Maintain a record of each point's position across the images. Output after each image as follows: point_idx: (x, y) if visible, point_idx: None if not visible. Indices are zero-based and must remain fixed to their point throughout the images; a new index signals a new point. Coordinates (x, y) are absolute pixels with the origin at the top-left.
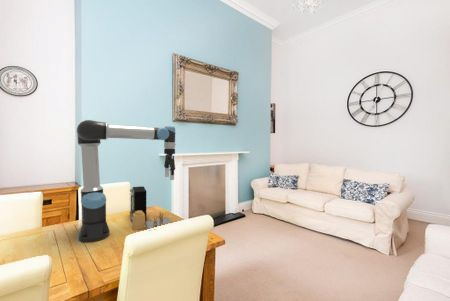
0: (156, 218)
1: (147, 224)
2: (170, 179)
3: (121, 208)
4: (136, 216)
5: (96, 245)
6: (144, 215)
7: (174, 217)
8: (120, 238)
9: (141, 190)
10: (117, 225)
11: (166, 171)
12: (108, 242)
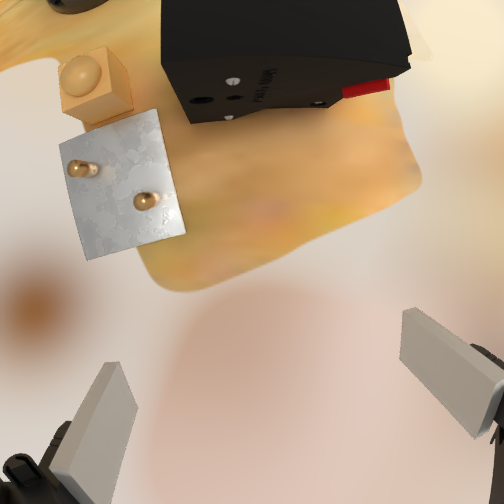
0: (69, 174)
1: (114, 131)
2: (103, 369)
3: (421, 40)
4: (59, 74)
5: (25, 12)
6: (64, 110)
7: (201, 272)
8: (36, 57)
9: (214, 22)
10: None
11: (451, 369)
12: (26, 33)
